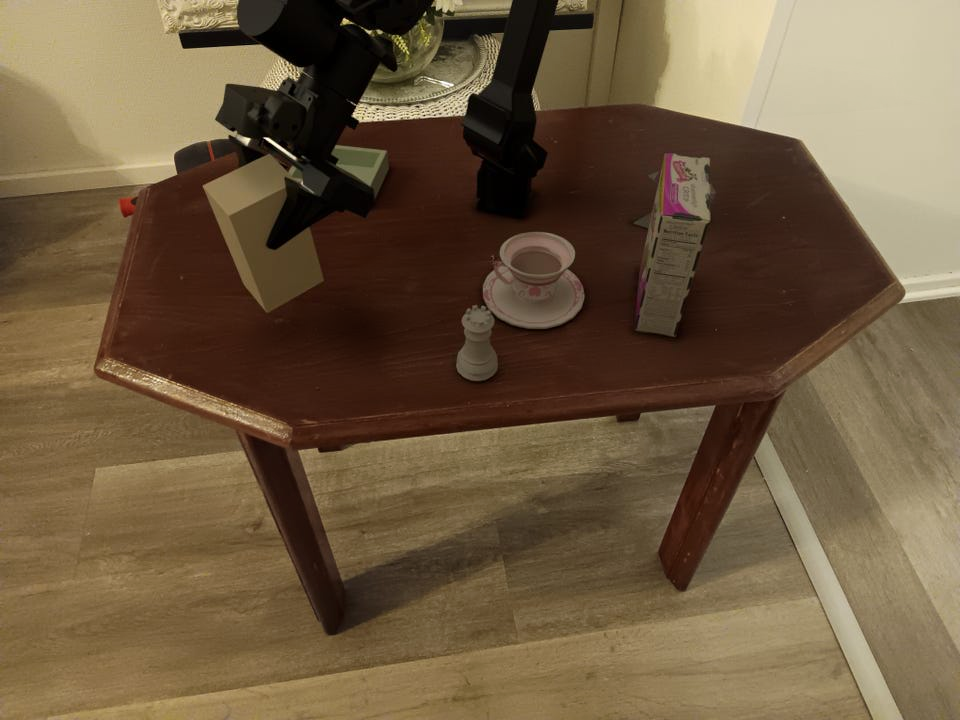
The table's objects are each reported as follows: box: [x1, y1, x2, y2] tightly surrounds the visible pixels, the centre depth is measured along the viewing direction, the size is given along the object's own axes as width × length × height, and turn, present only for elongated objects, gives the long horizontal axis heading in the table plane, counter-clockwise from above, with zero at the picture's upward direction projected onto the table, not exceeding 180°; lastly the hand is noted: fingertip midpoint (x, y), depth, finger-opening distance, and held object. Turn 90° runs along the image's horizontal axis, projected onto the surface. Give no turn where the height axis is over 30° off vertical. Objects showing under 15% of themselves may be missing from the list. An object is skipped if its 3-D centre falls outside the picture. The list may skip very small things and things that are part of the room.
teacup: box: [482, 231, 586, 330], centre depth 82 cm, size 12×12×6 cm
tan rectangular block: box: [202, 154, 325, 314], centre depth 72 cm, size 7×5×14 cm
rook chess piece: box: [455, 304, 499, 382], centre depth 74 cm, size 4×4×8 cm
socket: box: [287, 144, 390, 199], centre depth 98 cm, size 12×10×3 cm
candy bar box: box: [634, 152, 711, 338], centre depth 78 cm, size 11×5×16 cm, turn 168°
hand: (253, 233), depth 70 cm, fingers closed on tan rectangular block, 6 cm apart
